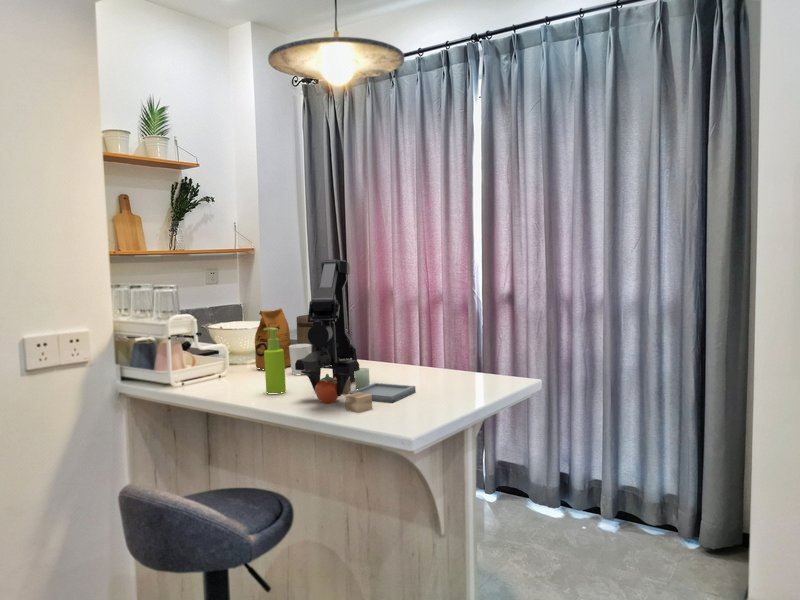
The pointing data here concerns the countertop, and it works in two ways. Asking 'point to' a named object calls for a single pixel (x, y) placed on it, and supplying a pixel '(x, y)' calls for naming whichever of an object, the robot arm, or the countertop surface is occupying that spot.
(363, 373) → the sage green capsule
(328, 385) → the tomato
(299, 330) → the wooden container
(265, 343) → the coffee package
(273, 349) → the soap dispenser
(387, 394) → the dish
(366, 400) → the beech block
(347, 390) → the walnut block
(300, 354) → the white cup
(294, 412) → the countertop surface
